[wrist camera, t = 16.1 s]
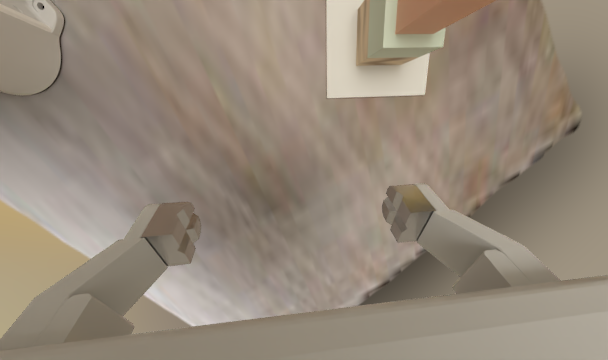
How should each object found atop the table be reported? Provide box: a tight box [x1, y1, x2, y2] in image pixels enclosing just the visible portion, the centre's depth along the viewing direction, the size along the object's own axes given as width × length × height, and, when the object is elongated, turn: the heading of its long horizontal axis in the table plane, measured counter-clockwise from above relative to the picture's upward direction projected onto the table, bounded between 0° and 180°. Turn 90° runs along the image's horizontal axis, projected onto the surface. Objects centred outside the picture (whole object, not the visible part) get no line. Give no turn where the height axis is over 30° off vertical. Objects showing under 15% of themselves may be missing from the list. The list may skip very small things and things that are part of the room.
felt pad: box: [326, 0, 430, 98], centre depth 35 cm, size 18×18×1 cm
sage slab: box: [367, 0, 446, 58], centre depth 28 cm, size 8×8×5 cm
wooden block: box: [356, 0, 418, 66], centre depth 33 cm, size 8×8×5 cm
